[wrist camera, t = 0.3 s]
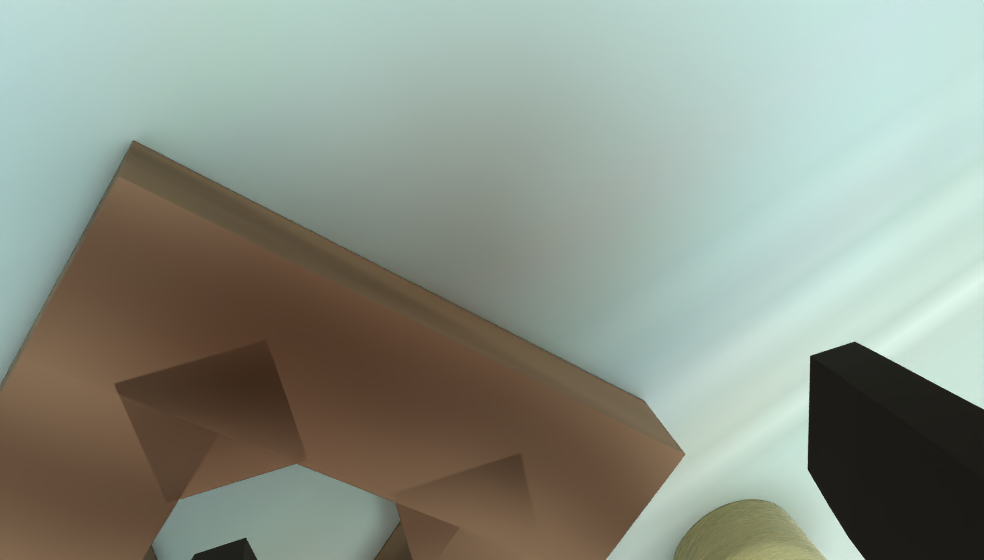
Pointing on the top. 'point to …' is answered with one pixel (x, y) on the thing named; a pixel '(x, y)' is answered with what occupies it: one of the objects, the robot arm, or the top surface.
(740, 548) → the cylinder
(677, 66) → the top surface
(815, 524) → the top surface
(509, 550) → the jig plate
